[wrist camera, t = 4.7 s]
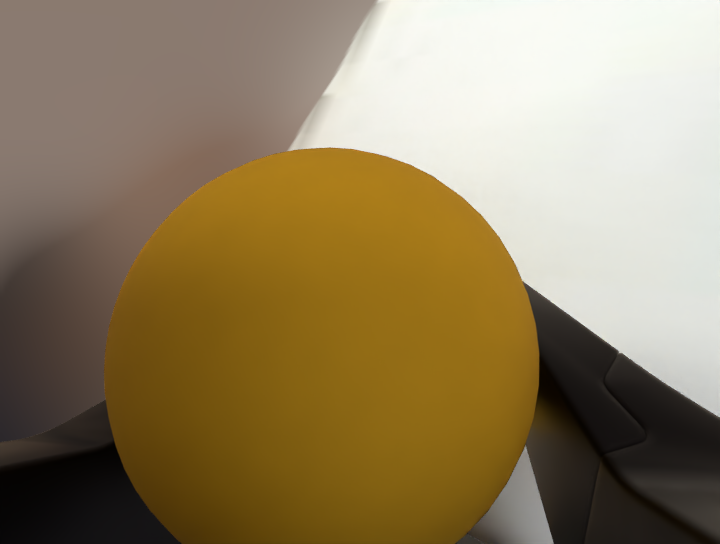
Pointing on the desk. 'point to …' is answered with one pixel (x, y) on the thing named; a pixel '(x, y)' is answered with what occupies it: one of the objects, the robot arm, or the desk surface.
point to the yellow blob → (322, 358)
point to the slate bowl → (469, 540)
